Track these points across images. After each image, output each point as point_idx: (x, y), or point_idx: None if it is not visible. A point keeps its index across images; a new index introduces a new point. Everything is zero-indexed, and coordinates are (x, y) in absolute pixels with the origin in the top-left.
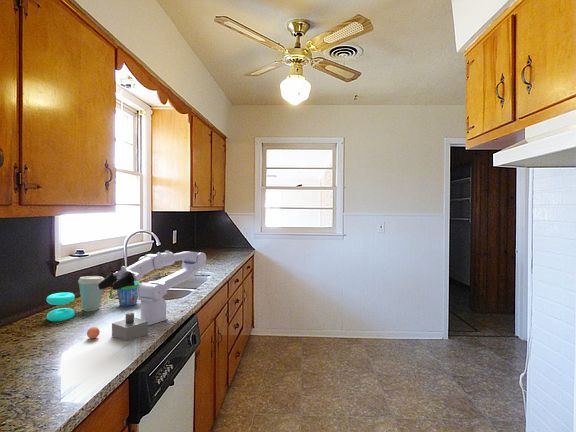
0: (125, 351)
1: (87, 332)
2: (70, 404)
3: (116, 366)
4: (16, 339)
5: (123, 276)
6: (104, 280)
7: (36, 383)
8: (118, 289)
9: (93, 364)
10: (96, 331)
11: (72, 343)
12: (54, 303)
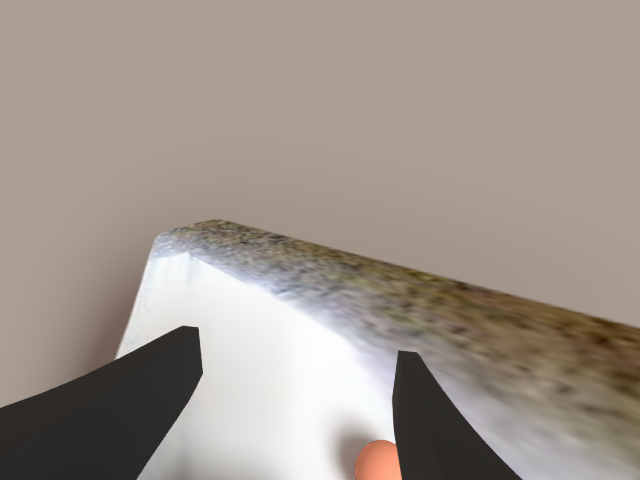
0: None
1: (390, 442)
2: (168, 253)
3: None
4: (614, 343)
5: (37, 409)
6: (416, 403)
7: (265, 259)
8: None
9: (211, 333)
10: (356, 465)
11: None
12: None
